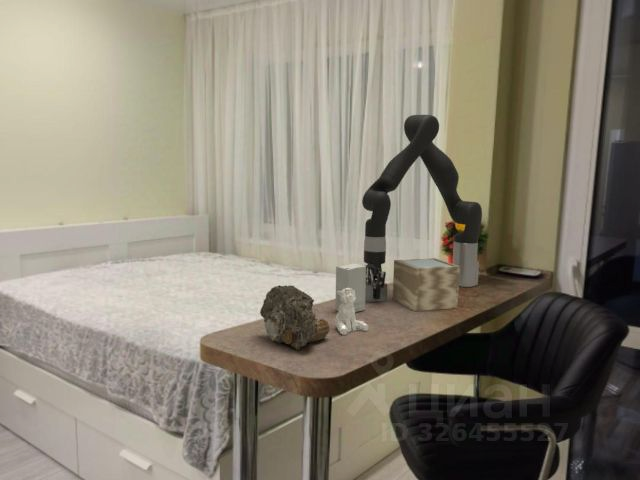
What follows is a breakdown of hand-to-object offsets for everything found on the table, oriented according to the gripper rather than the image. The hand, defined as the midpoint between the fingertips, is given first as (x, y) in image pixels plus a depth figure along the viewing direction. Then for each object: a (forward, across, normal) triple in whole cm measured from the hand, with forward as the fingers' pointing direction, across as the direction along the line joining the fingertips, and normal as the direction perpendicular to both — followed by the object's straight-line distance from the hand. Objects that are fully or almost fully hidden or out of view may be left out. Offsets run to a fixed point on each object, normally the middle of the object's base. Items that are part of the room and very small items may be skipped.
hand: (373, 297), depth 183 cm
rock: (+1, -36, +37) cm, 52 cm away
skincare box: (+1, -11, +13) cm, 17 cm away
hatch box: (+1, -9, -15) cm, 18 cm away
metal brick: (+1, 0, 0) cm, 1 cm away
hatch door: (-12, -9, -15) cm, 21 cm away
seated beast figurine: (+1, -29, +21) cm, 36 cm away
